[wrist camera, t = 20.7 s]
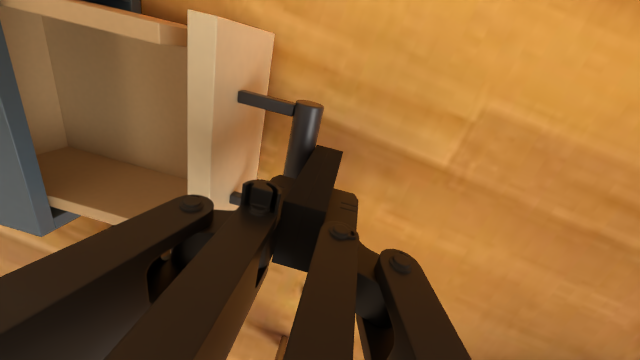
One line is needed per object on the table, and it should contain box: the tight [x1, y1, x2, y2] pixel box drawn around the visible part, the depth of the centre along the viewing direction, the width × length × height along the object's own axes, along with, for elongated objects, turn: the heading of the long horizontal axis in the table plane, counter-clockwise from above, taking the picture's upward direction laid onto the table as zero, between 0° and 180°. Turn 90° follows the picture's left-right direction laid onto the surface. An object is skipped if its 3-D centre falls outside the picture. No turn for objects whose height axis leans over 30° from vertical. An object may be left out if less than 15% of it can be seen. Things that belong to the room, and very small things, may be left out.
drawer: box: [0, 0, 324, 225], centre depth 16 cm, size 20×12×7 cm, turn 78°
